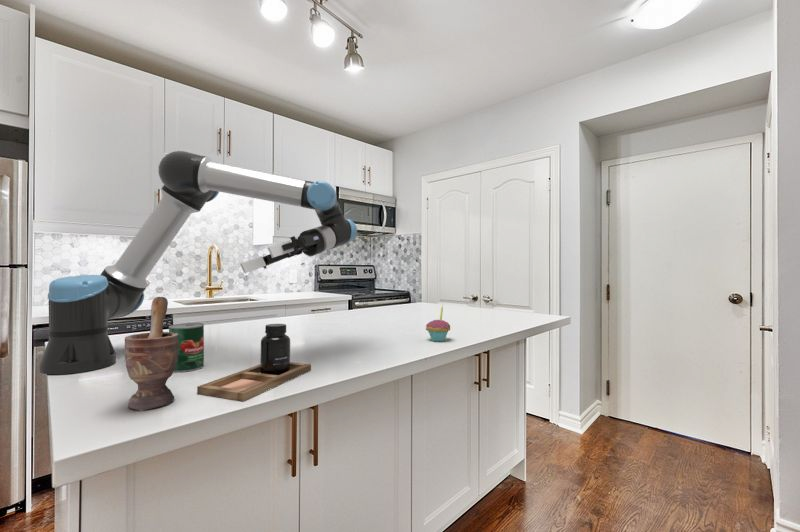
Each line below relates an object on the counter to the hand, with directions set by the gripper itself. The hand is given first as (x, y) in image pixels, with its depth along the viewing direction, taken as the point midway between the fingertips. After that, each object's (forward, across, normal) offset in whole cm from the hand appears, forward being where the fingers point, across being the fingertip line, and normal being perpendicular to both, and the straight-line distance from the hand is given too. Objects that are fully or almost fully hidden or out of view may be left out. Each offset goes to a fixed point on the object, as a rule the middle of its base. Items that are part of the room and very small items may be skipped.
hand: (256, 260), depth 96 cm
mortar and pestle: (+32, +4, -19) cm, 37 cm away
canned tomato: (+16, +22, -18) cm, 33 cm away
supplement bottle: (+8, +1, -28) cm, 29 cm away
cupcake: (-48, -6, -47) cm, 68 cm away
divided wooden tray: (+13, -1, -26) cm, 29 cm away
